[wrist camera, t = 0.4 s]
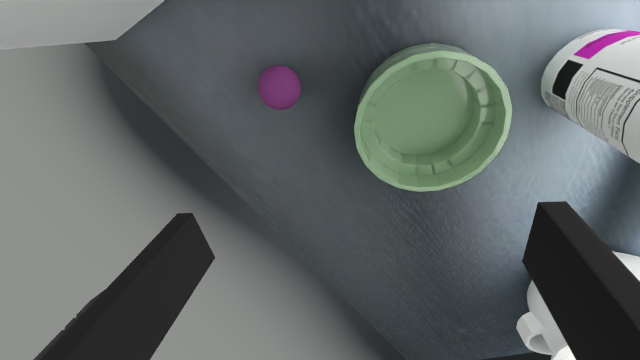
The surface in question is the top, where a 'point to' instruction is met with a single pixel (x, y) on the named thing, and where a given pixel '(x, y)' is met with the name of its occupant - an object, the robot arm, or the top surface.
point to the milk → (68, 21)
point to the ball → (279, 87)
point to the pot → (541, 326)
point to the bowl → (431, 118)
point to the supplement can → (599, 86)
